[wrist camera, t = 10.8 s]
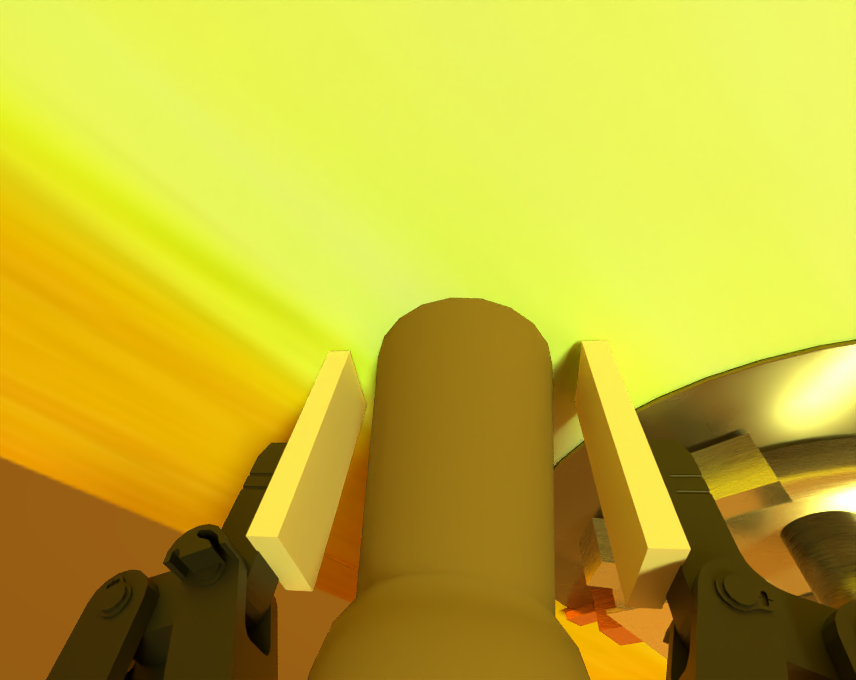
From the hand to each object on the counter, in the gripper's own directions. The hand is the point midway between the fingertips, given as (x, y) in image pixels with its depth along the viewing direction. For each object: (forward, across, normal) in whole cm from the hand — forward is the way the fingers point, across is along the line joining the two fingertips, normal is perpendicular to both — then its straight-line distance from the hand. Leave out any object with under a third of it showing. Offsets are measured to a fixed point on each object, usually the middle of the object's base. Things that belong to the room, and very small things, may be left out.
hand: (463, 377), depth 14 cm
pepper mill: (0, 0, 0) cm, 0 cm away
